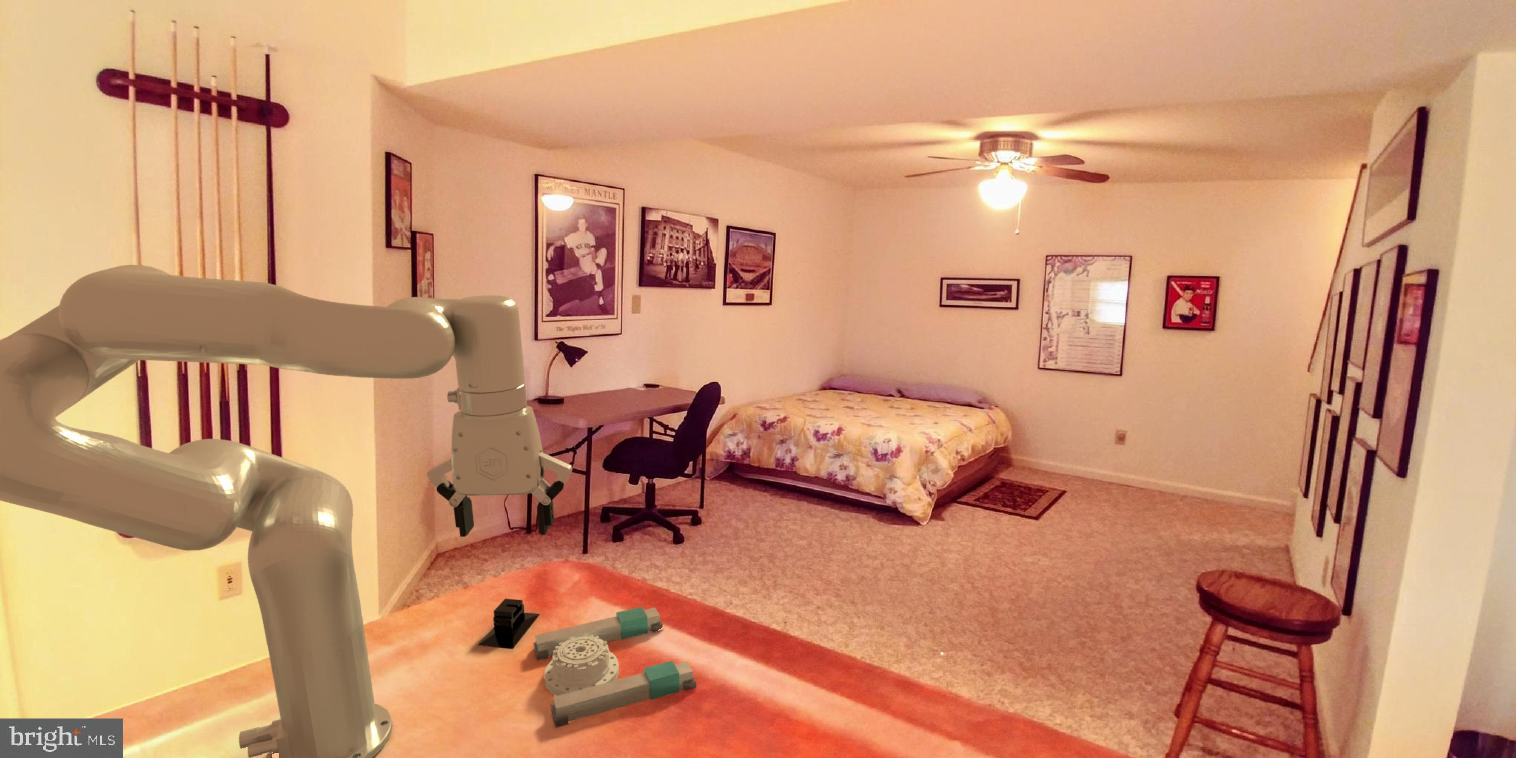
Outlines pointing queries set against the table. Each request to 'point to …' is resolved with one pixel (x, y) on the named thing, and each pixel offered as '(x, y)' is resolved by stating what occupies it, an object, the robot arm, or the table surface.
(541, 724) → the table surface
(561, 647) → the mechanical component
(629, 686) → the bar rails
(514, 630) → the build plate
